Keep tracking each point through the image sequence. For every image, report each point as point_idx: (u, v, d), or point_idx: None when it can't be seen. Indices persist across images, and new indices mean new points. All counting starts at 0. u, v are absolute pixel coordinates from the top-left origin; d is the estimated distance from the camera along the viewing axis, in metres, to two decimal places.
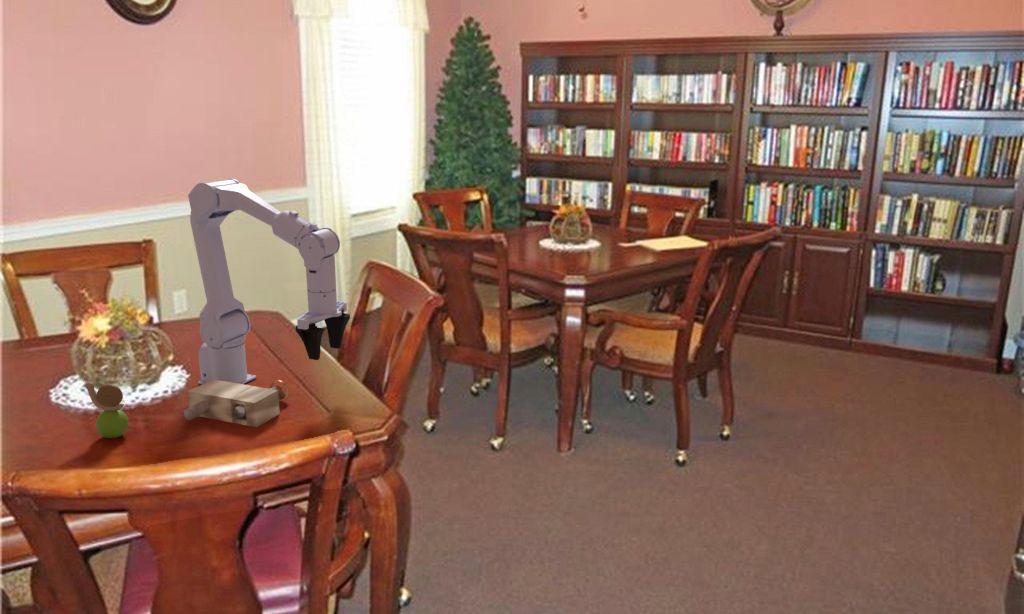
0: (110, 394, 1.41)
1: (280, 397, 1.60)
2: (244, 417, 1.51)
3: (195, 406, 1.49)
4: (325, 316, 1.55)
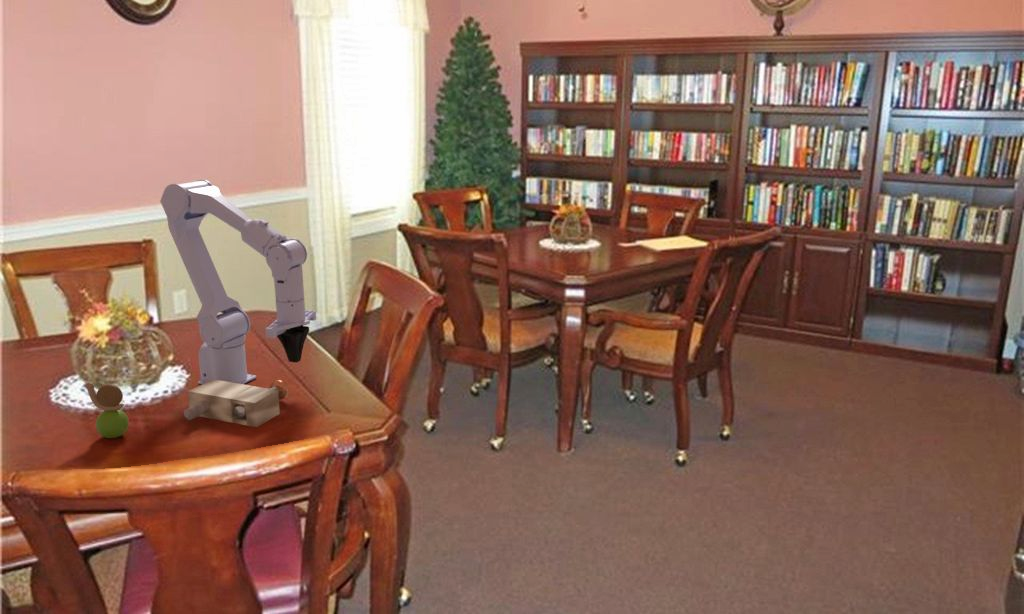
0: (110, 394, 1.41)
1: (280, 397, 1.60)
2: (244, 417, 1.51)
3: (195, 406, 1.49)
4: (293, 325, 1.59)
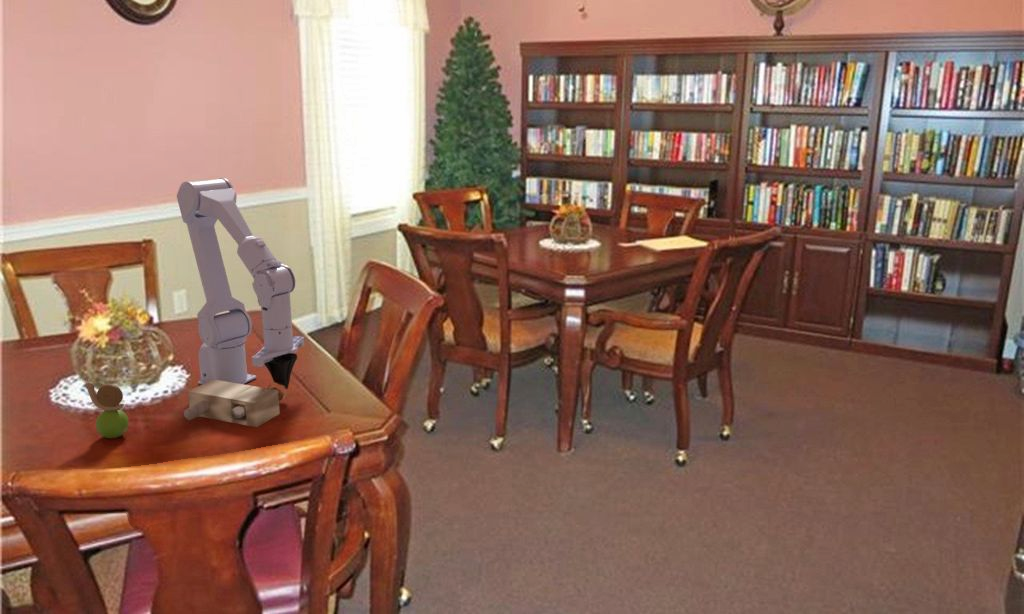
0: (110, 394, 1.41)
1: None
2: (244, 417, 1.51)
3: (195, 406, 1.49)
4: (280, 353, 1.56)
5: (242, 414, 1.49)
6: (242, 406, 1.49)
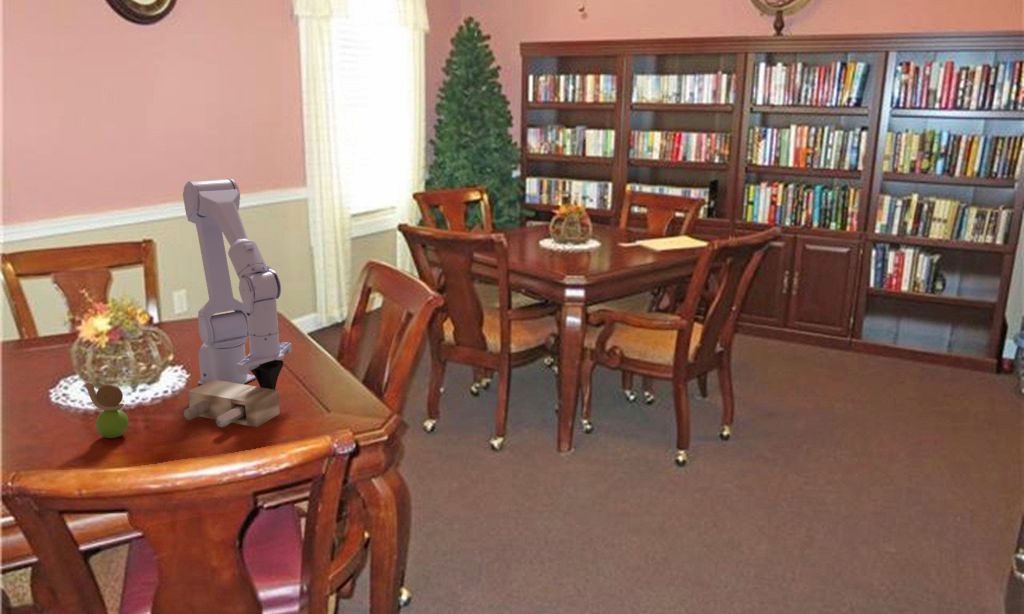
0: (110, 394, 1.41)
1: None
2: (244, 417, 1.51)
3: (195, 406, 1.49)
4: (266, 360, 1.52)
5: (227, 422, 1.45)
6: (227, 414, 1.45)
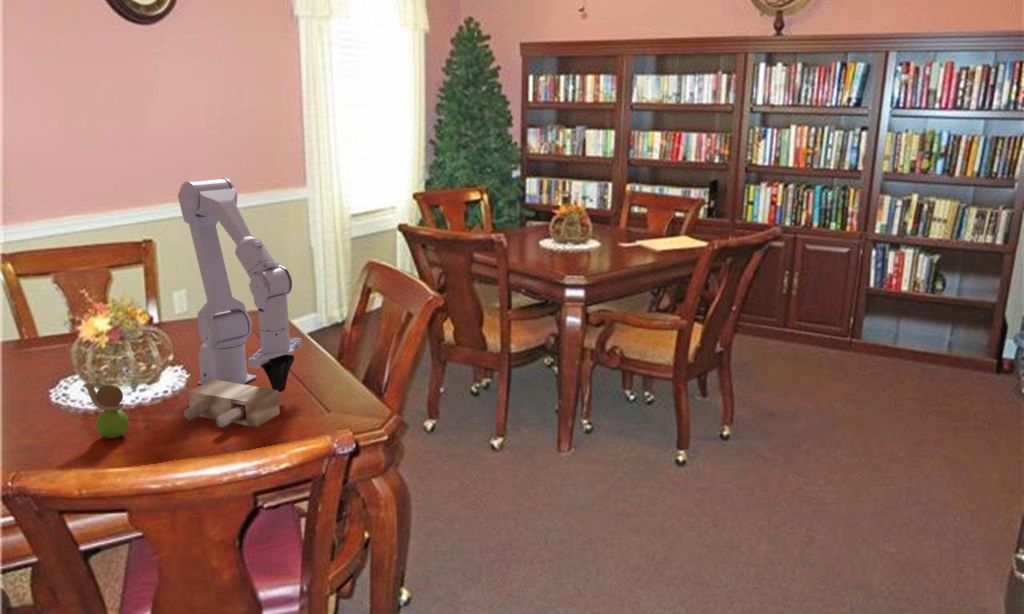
0: (110, 394, 1.41)
1: None
2: (244, 417, 1.51)
3: (195, 406, 1.49)
4: (277, 354, 1.55)
5: (227, 422, 1.45)
6: (227, 414, 1.45)
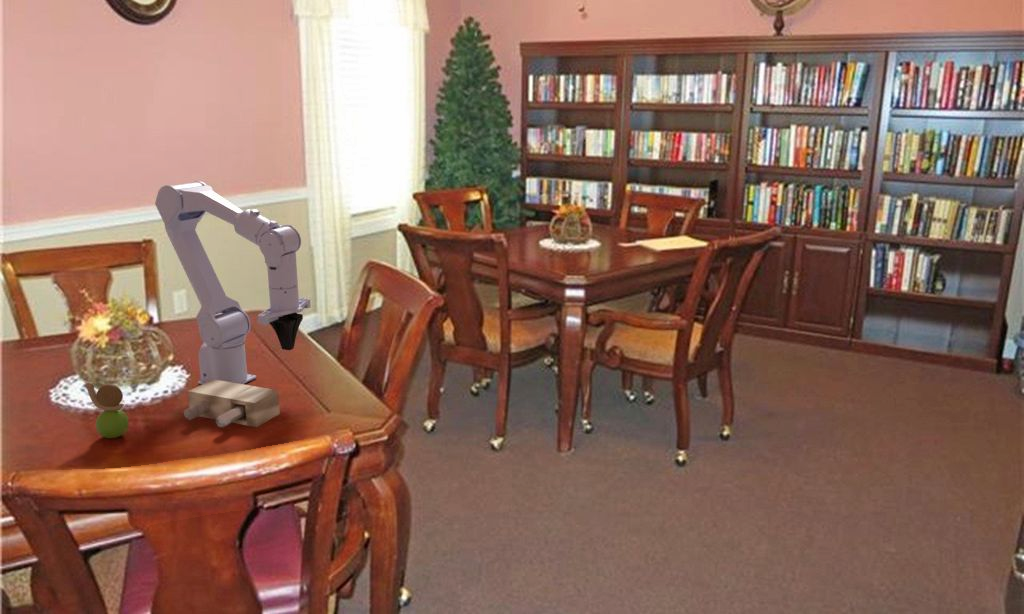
0: (110, 394, 1.41)
1: None
2: (244, 417, 1.51)
3: (195, 406, 1.49)
4: (286, 312, 1.57)
5: (227, 422, 1.45)
6: (227, 414, 1.45)
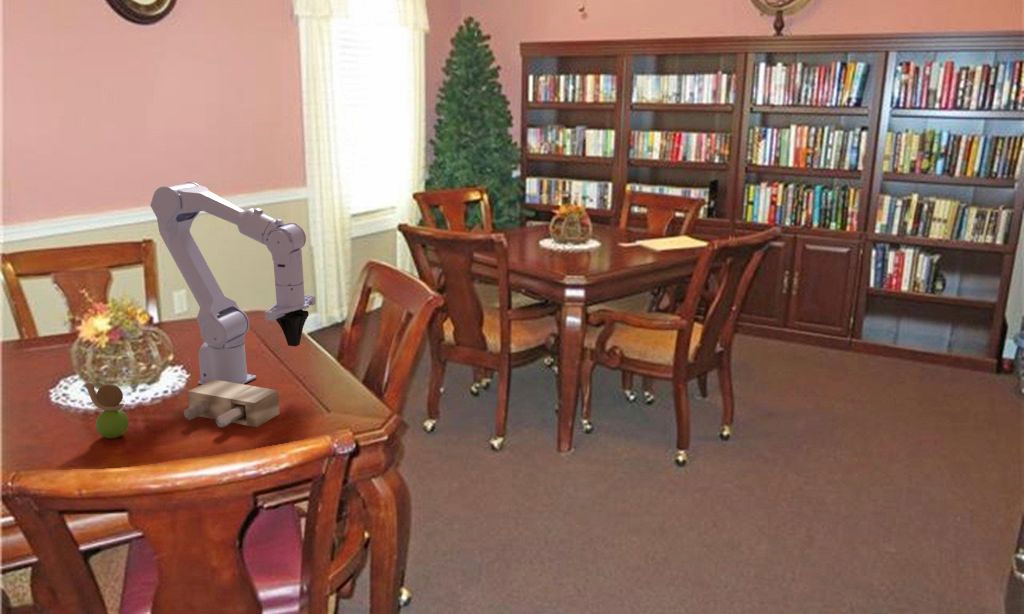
0: (110, 394, 1.41)
1: None
2: (244, 417, 1.51)
3: (195, 406, 1.49)
4: (292, 309, 1.59)
5: (227, 422, 1.45)
6: (227, 414, 1.45)
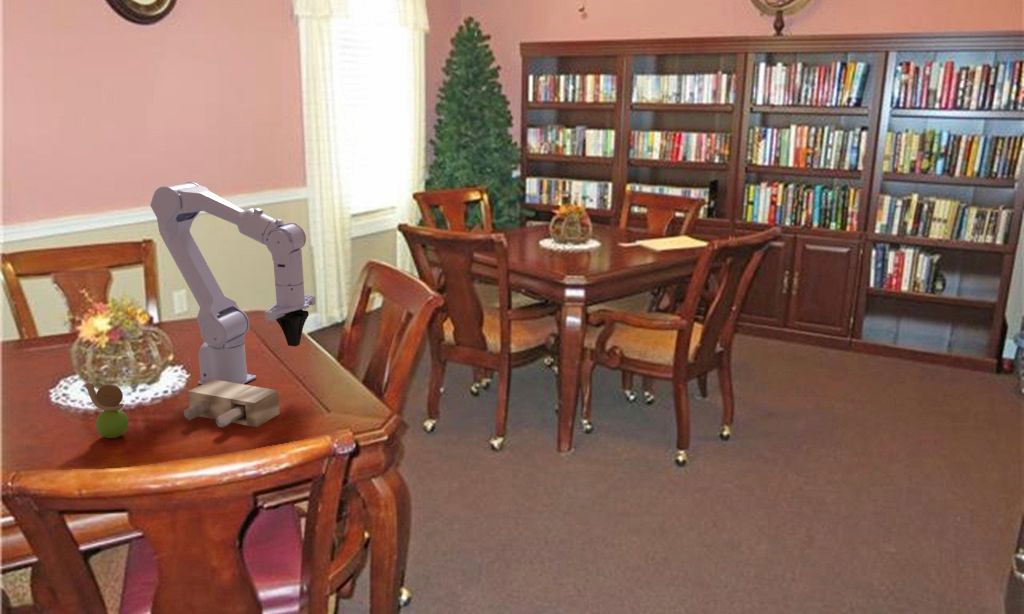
0: (110, 394, 1.41)
1: None
2: (244, 417, 1.51)
3: (195, 406, 1.49)
4: (292, 309, 1.59)
5: (227, 422, 1.45)
6: (227, 414, 1.45)
